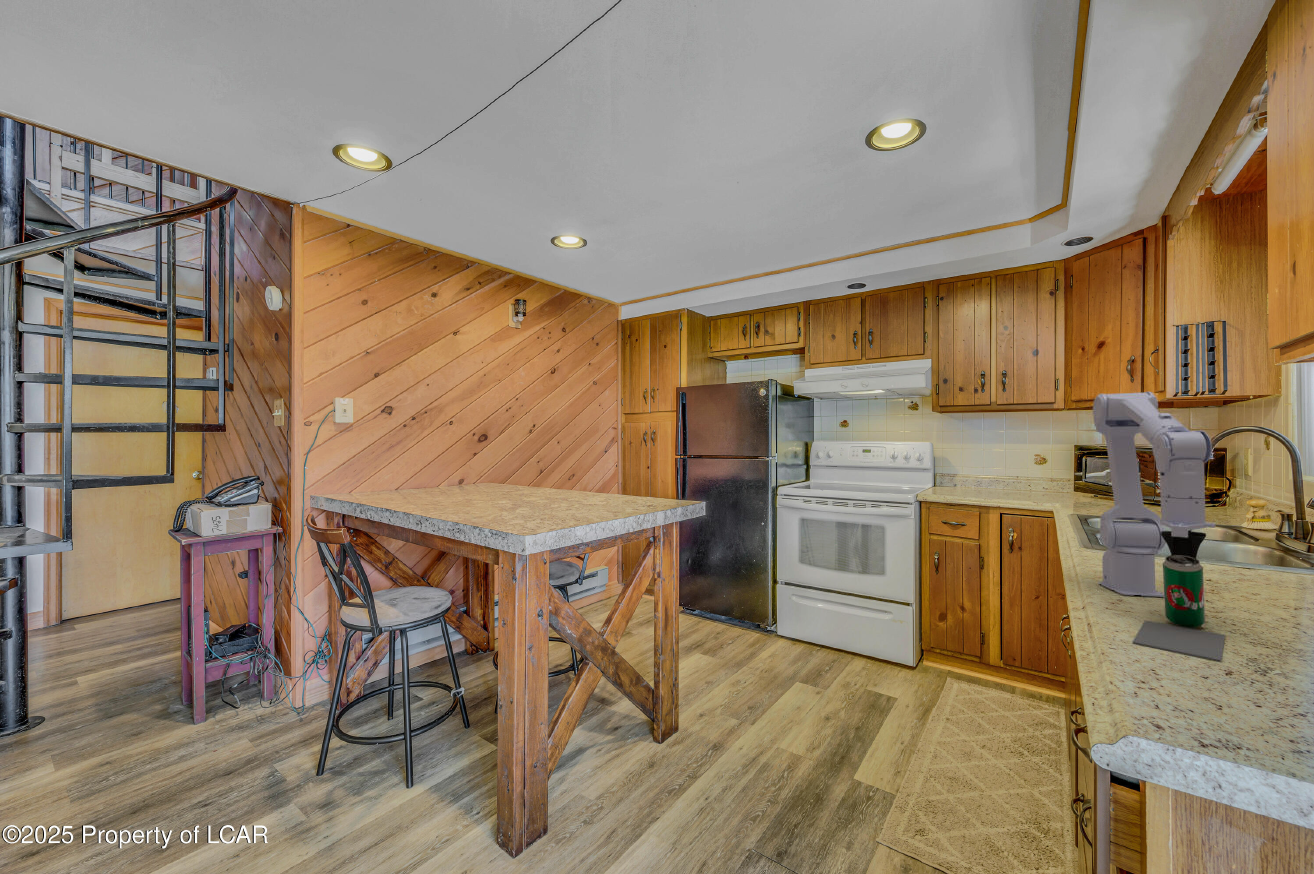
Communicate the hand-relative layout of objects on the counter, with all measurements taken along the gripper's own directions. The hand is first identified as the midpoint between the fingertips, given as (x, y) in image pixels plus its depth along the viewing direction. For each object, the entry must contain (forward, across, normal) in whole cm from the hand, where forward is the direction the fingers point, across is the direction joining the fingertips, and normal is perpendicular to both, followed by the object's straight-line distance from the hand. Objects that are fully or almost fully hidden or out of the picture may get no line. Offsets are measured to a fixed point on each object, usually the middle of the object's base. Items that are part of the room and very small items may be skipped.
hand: (1184, 571), depth 95 cm
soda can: (+9, -1, 0) cm, 9 cm away
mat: (+10, -11, 0) cm, 15 cm away
